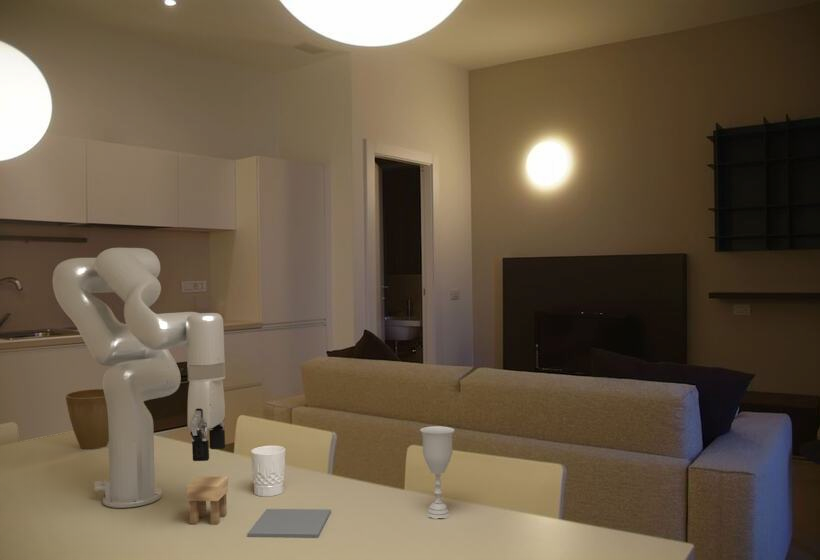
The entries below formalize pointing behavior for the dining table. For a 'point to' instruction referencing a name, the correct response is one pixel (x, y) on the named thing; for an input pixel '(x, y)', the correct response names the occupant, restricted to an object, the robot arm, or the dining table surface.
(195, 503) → the stool
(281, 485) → the white cup
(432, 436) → the chalice
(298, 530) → the mat
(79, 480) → the dining table surface
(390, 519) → the dining table surface
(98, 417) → the plant pot
